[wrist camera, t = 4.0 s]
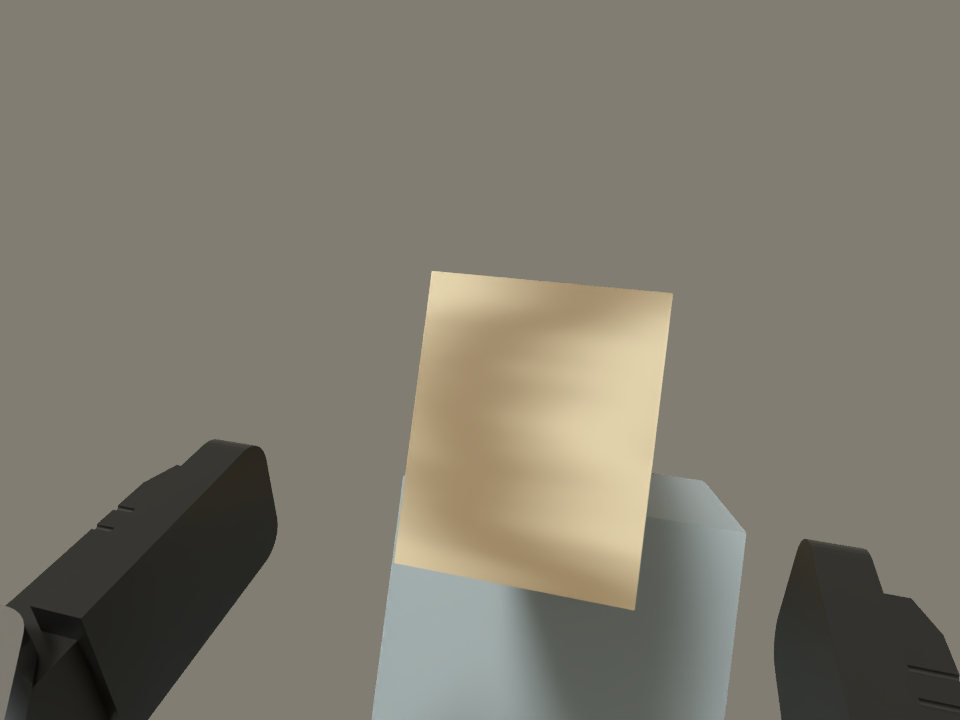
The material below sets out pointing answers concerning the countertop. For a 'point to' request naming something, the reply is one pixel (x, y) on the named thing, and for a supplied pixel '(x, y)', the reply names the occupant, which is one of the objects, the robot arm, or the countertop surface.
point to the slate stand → (574, 632)
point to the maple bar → (535, 435)
